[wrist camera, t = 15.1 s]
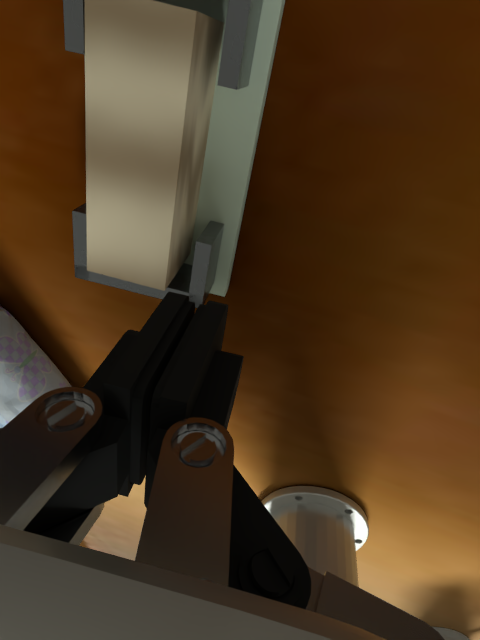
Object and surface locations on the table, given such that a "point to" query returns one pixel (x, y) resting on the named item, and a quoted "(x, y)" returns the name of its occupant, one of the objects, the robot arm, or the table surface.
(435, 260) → the table surface
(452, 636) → the glass holder
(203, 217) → the base board
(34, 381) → the pencil case
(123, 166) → the beige long block
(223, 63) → the end caps
